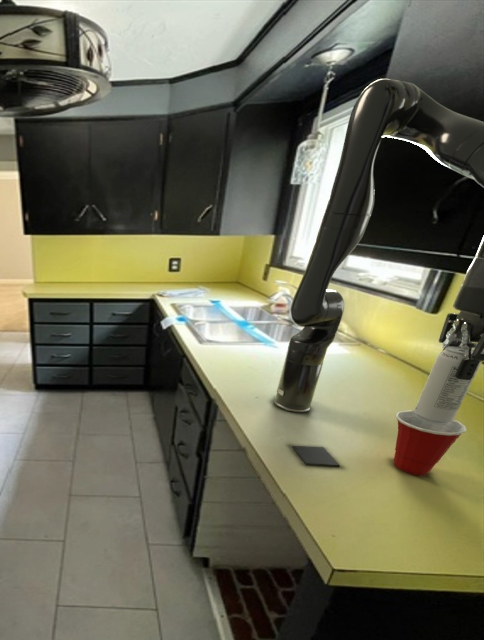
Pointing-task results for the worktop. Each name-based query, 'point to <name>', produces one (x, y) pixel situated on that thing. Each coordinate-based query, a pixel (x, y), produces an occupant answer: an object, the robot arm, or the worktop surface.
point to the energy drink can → (443, 388)
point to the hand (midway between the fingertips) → (452, 372)
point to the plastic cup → (422, 442)
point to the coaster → (315, 456)
